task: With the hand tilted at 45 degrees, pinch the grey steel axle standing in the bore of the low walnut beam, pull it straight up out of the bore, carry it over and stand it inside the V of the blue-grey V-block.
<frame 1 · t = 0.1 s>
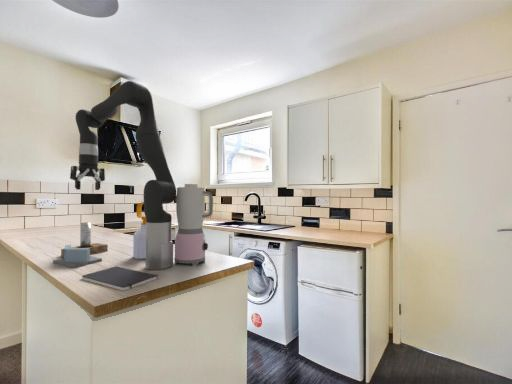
hand: (88, 189, 123), 29 cm above the table, tool pointing down, fingers open, 8 cm apart
blender: (193, 263, 109), on the table
notebook: (119, 280, 88), on the table
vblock: (75, 262, 107), on the table
soap bottle: (144, 257, 117), on the table
axle: (85, 238, 122), in the beam
beam: (85, 253, 122), on the table
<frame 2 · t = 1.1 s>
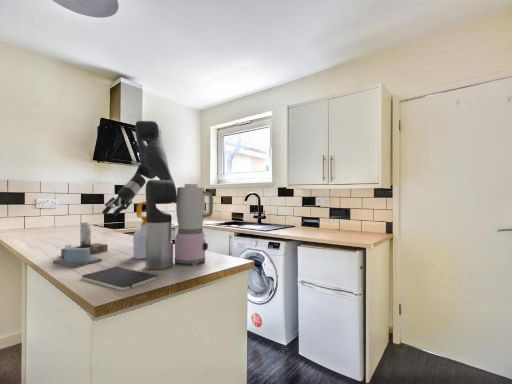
hand: (109, 214, 132), 17 cm above the table, tool tilted 45°, fingers open, 8 cm apart
nothing on the table moved.
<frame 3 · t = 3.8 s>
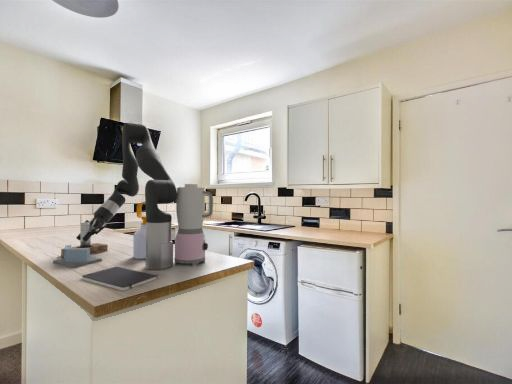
hand: (81, 239, 120), 7 cm above the table, tool tilted 45°, fingers closed on axle, 4 cm apart
axle: (85, 238, 122), in the beam, touching gripper
everything else where it was.
when the fingers open (9 cm above the table, at t = 8.8 s): axle drops 1 cm, resting on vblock.
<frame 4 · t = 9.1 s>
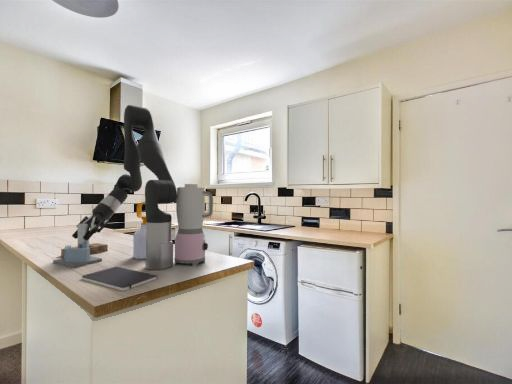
hand: (79, 238, 108), 9 cm above the table, tool tilted 45°, fingers open, 7 cm apart
axle: (83, 241, 109), point 8 cm above the table, touching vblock
everything else where it was.
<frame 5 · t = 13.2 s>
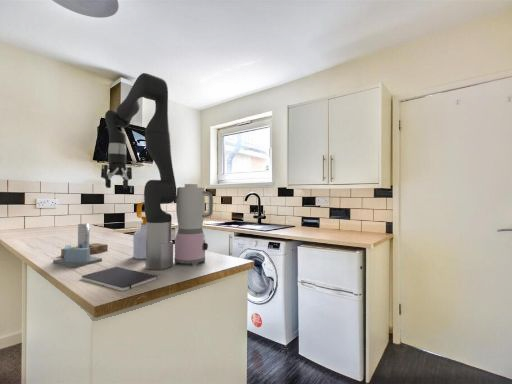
hand: (117, 188, 126), 30 cm above the table, tool pointing down, fingers open, 8 cm apart
nothing on the table moved.
at the end: axle 0.1 cm from the target spot on the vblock, point 8.0 cm above the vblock's base; axle tilted 0°; the gripper is holding nothing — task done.
